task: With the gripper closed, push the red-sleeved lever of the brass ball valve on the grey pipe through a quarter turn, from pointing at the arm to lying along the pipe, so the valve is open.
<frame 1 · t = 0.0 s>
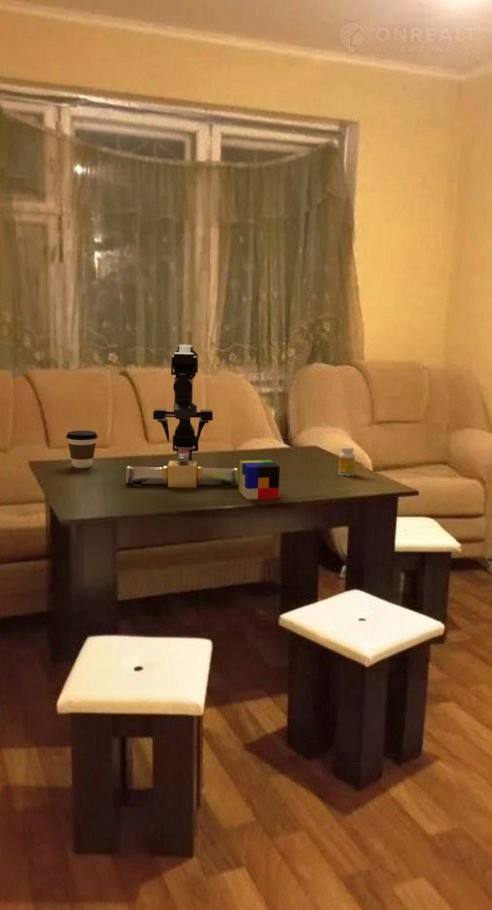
hand: (182, 441, 253), 15 cm above the table, tool pointing down, fingers open, 9 cm apart
supplement bottle: (345, 475, 280), on the table
lever: (183, 456, 262), point 8 cm above the table, hinge at 0.0°
puzzle toy: (258, 495, 248), on the table
coffee cup: (82, 466, 281), on the table
valve: (182, 484, 258), on the table
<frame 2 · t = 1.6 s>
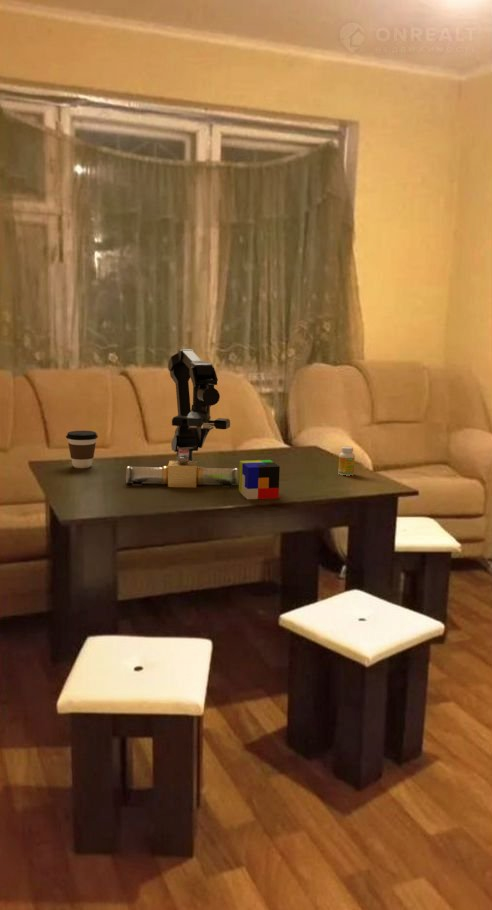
hand: (200, 447, 265), 11 cm above the table, tool pointing down, fingers closed
nothing on the table moved.
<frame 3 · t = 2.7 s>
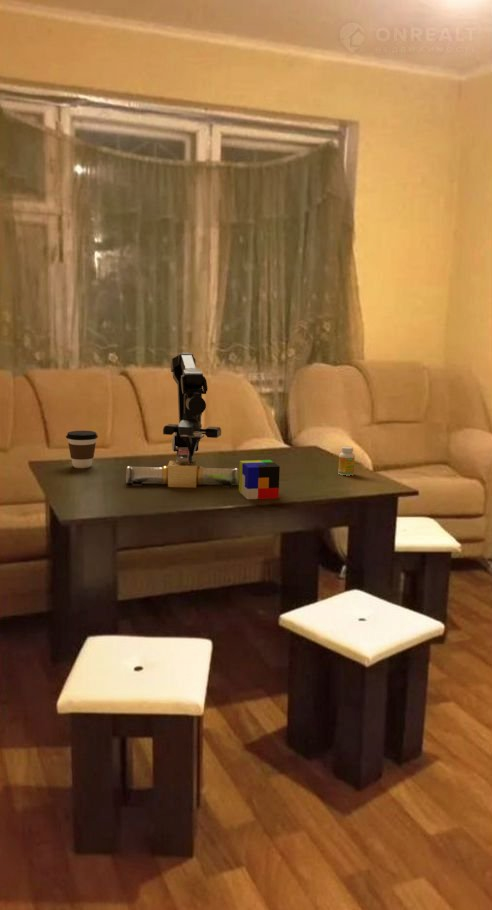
hand: (191, 456, 266), 8 cm above the table, tool pointing down, fingers closed
lever: (183, 456, 262), point 8 cm above the table, hinge at 0.1°, touching gripper
everything else where it was.
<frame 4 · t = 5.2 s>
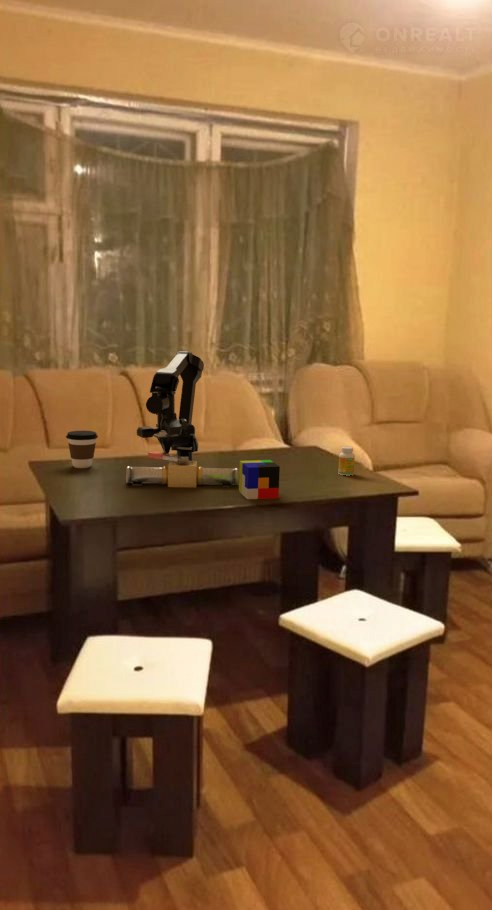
hand: (166, 455, 264), 8 cm above the table, tool pointing down, fingers closed
lever: (169, 457, 260), point 8 cm above the table, hinge at 51.9°, touching gripper
everything else where it was.
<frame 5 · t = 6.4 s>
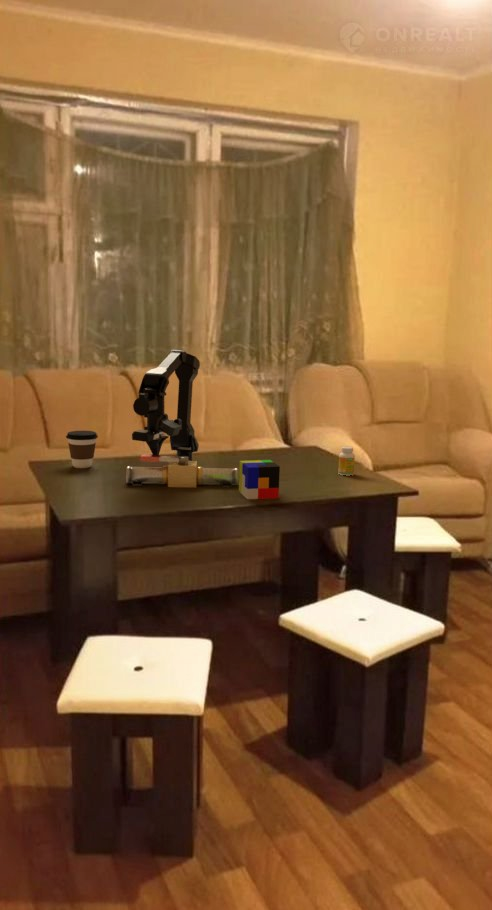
hand: (156, 457, 261), 8 cm above the table, tool pointing down, fingers closed
lever: (165, 458, 257), point 8 cm above the table, hinge at 80.2°, touching gripper
everything else where it was.
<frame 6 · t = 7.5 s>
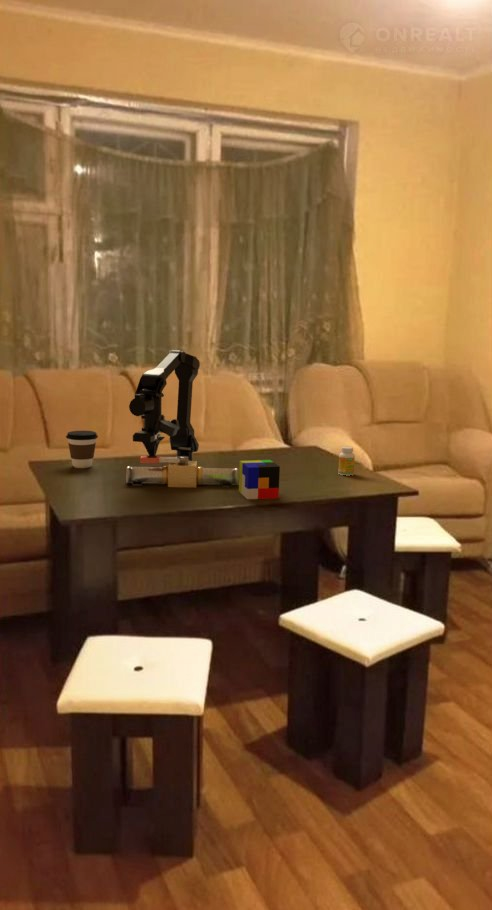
hand: (152, 459, 261), 7 cm above the table, tool pointing down, fingers closed
lever: (164, 459, 256), point 8 cm above the table, hinge at 91.5°
everything else where it was.
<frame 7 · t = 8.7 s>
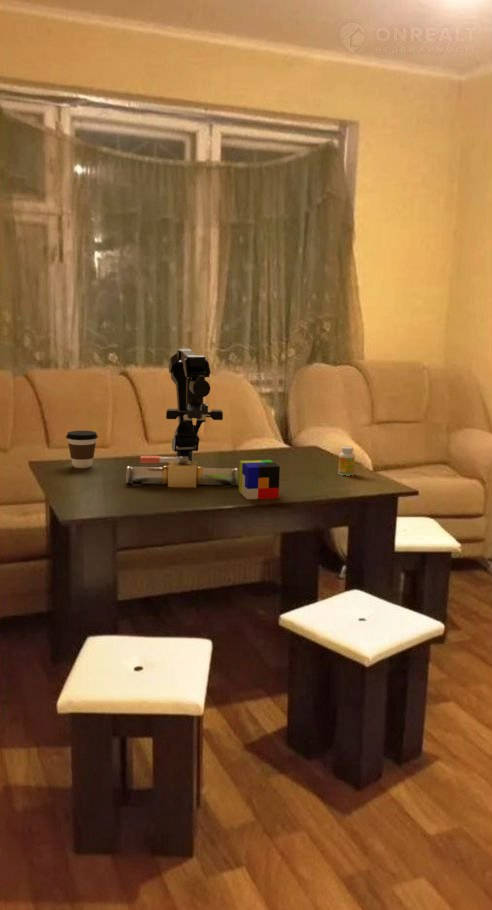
hand: (194, 439, 266), 13 cm above the table, tool pointing down, fingers closed
nothing on the table moved.
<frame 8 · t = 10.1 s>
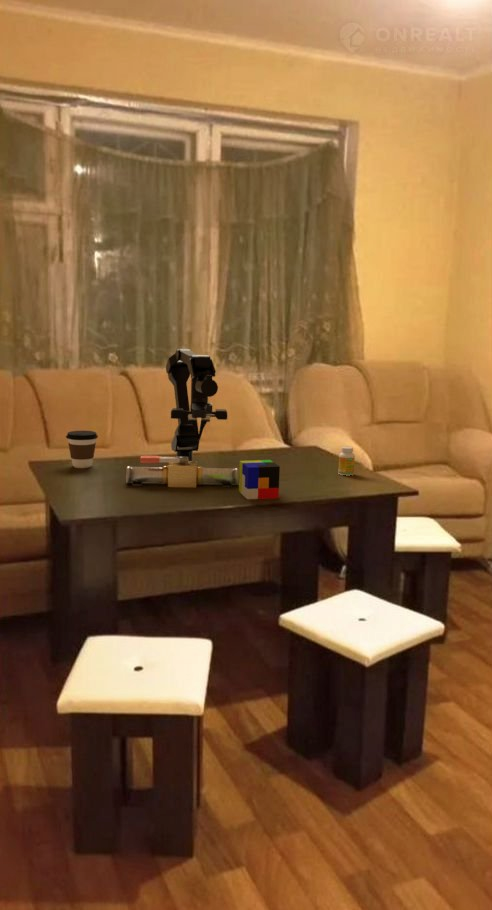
hand: (198, 439, 267), 13 cm above the table, tool pointing down, fingers closed
nothing on the table moved.
at the end: lever at +92° (first picture: +0°) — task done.
